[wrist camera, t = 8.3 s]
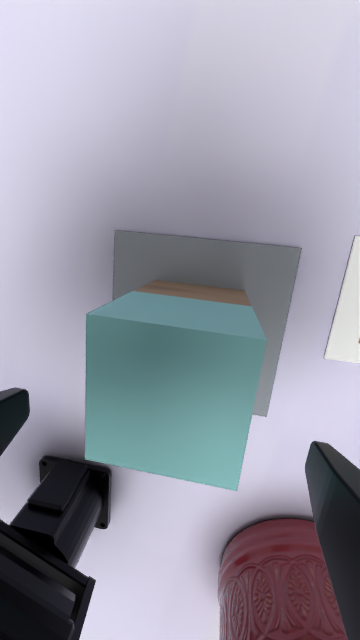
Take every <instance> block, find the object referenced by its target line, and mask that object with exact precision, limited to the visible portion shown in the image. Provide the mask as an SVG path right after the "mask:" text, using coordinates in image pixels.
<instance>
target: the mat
mask: <svg viewBox="0 0 360 640" xmlns="http://www.w3.org/2000/svg"><path fill="white" fill-rule="evenodd" d="M301 249H302V248H296V247H286V246H276V245H265V244H255V243H245V242H234V241H224V240H214V239H203V238H193V237H183V236H173V235H162V234H152V233H142V232H131V231H121V230H115V242H114V275H113V300H115V299H117V298H119V297H121V296H123V295H126V294H128V293H130V292H132V291H134V290H136V289H138V288H140V287H142V286H144V285H146V284H148V283H150V282H152V281H154V280H160V281H169V282H177V283H186V284H194V285H203V286H211V287H220V288H228V289H237V290H245V293H246V295H247V297H248V299H249V302H250V304H251V306H252V308H253V310H254V312H255V315H256V317H257V319H258V321H259V323H260V326H261V328H262V330H263V332H264V335H265V337H266V339H267V342H266V347H265V352H264V357H263V362H262V367H261V372H260V377H259V382H258V387H257V392H256V397H255V402H254V408H253V413H252V414H253V415H259V416H265V417H267V412H268V408H269V403H270V398H271V393H272V388H273V384H274V379H275V374H276V369H277V364H278V360H279V355H280V350H281V345H282V340H283V335H284V331H285V326H286V321H287V316H288V311H289V307H290V302H291V297H292V292H293V287H294V283H295V278H296V273H297V268H298V263H299V258H300V254H301Z"/></svg>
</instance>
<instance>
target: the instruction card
mask: <svg viewBox="0 0 360 640" xmlns="http://www.w3.org/2000/svg"><path fill="white" fill-rule="evenodd" d="M324 359H330V360H337V361H345V362H352V363H359V364H360V236H355V237H354V241H353V245H352V249H351V253H350V257H349V261H348V265H347V269H346V273H345V277H344V281H343V284H342V288H341V292H340V296H339V300H338V304H337V308H336V312H335V316H334V320H333V324H332V328H331V331H330V335H329V339H328V343H327V347H326V351H325V355H324Z"/></svg>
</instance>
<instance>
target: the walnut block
mask: <svg viewBox="0 0 360 640" xmlns="http://www.w3.org/2000/svg"><path fill="white" fill-rule="evenodd" d="M134 291H137V292H144V293H152V294H160V295H168V296H175V297H183V298H191V299H198V300H206V301H214V302H221V303H229V304H237V305H245V306H251V304H250V302H249V299H248V297H247V295H246V293H245V290H237V289H228V288H220V287H211V286H203V285H194V284H186V283H177V282H169V281H160V280H154V281H152V282H150V283H148V284H146V285H144V286H142V287H140V288H138V289H136V290H134Z"/></svg>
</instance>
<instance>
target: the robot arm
mask: <svg viewBox="0 0 360 640" xmlns="http://www.w3.org/2000/svg"><path fill="white" fill-rule="evenodd" d="M29 413H30V407H29V393H28V391H27V390H26V389H20V388H11V389H8V390H4V391H0V456H1V455H2V453H3V452H4V451H5V449H6V448H7V447H8V445H9V444H10V442H11V441H12V440H13V438H14V437H15V435H16V434H17V433H18V431H19V430H20V428H21V427H22V426H23V424H24V423H25V422H26V420H27V419H28V416H29ZM39 468H40V484H39V485H38V487H37V488H36V489H35V491H34V492H33V493H32V495H31V496H30V497H29V498H28V500H27V502H26V504H25V505H24V506H23V508H22V509H21V510H20V512H19V513H18V514H17V515H16V517H15V518H14V519H13V521H12V522H11V523H10V525H8V524H6V523H5V522H3V521H2V520H0V640H79V638H80V634H81V631H82V627H83V624H84V620H85V617H86V613H87V610H88V606H89V603H90V599H91V596H92V592H93V589H94V585H95V582H96V580H95V579H93V578H92V577H90V576H89V577H87V576H86V575H84V574H83V573H81V572H79V571H78V570H76V569H75V567H76V565H77V563H78V561H79V559H80V557H81V554H82V552H83V550H84V548H85V546H86V544H87V541H88V539H89V537H90V535H91V533H92V531H93V528H94V527H96V528H100V529H106V528H107V527H108V525H109V521H110V492H111V472H110V470H109V469H107V468H103V467H98V466H93V465H89V464H84V463H79V462H74V461H69V460H64V459H59V458H55V457H50V456H43V458H42V459H41V460H40V461H39ZM305 473H306V479H307V484H308V490H309V495H310V501H311V506H312V512H313V517H314V522H315V527H316V531H317V535H318V539H319V542H320V546H321V549H322V553H323V556H324V560H325V563H326V567H327V570H328V574H329V577H330V580H331V584H332V587H333V591H334V594H335V598H336V601H337V605H338V608H339V612H340V615H341V619H342V622H343V625H344V629H345V632H346V636H347V639H348V640H360V469H358V468H357V467H356V466H355V465H354V464H352V463H351V462H350V461H349V460H348V459H346V458H345V457H344V456H343V455H341V454H340V453H339V452H338V451H337V450H335V449H334V448H333V447H332V446H331V445H329V444H328V443H324V442H318V441H313V442H312V443H311V445H310V449H309V452H308V456H307V460H306V464H305ZM104 474H105V475H104Z"/></svg>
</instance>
